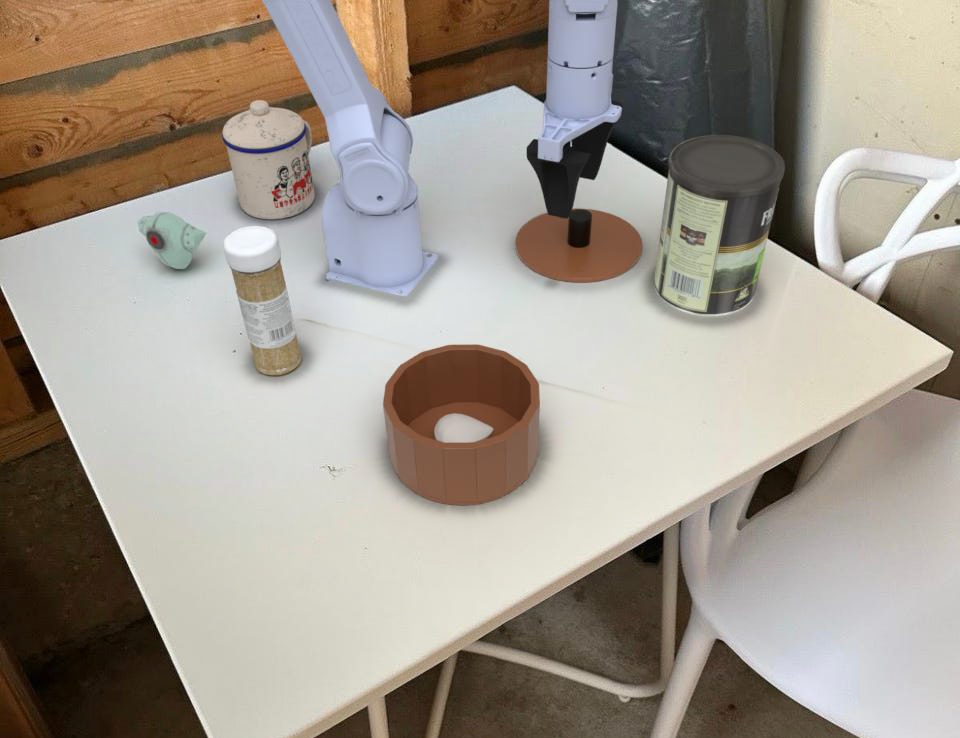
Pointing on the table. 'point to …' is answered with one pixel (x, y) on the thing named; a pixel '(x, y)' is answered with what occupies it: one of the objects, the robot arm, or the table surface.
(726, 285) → the coffee can
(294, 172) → the teacup with lid
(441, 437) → the white teardrop
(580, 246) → the lid
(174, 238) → the robot head
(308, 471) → the table surface
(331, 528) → the table surface
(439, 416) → the tin
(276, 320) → the spice jar
